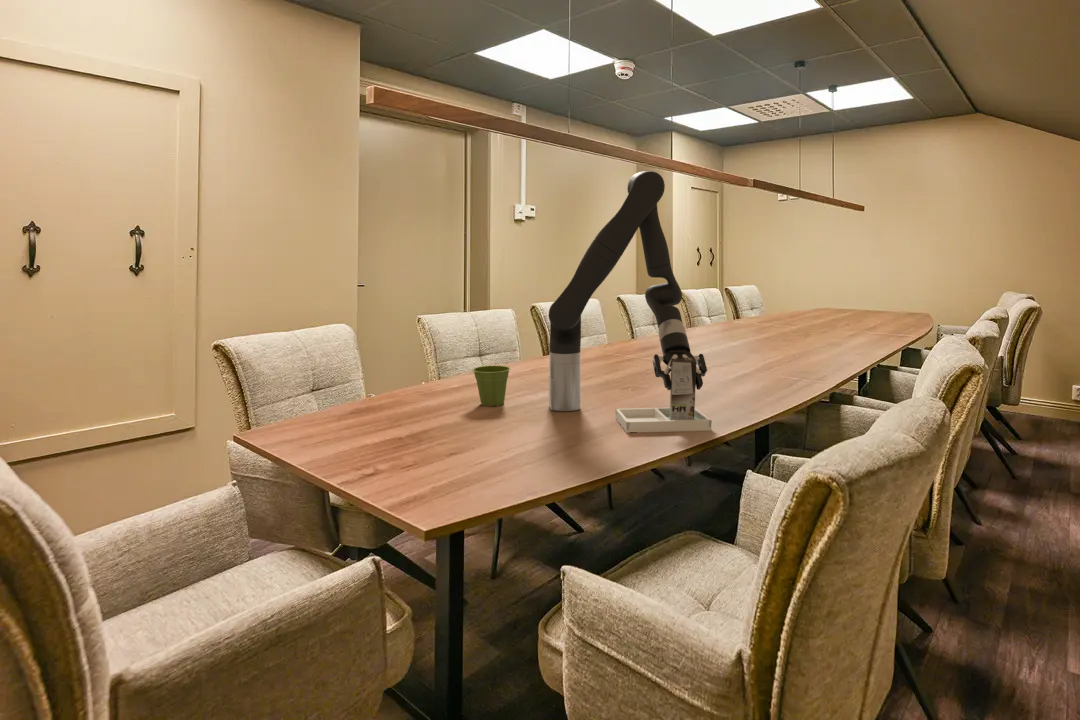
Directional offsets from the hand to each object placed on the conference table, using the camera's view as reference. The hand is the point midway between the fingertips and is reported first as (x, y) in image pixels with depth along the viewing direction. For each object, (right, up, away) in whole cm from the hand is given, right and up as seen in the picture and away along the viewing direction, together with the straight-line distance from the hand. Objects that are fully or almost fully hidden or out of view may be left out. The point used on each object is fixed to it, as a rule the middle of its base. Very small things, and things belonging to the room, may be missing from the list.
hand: (684, 388), depth 163 cm
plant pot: (-53, -6, +29) cm, 61 cm away
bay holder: (-5, -10, +3) cm, 12 cm away
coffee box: (0, -8, +4) cm, 9 cm away
